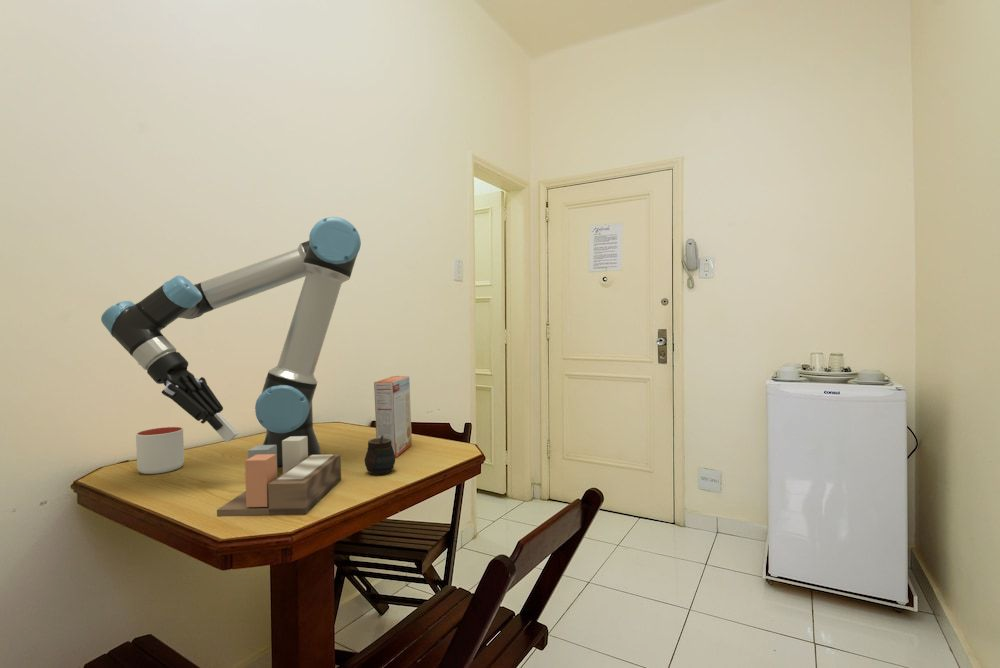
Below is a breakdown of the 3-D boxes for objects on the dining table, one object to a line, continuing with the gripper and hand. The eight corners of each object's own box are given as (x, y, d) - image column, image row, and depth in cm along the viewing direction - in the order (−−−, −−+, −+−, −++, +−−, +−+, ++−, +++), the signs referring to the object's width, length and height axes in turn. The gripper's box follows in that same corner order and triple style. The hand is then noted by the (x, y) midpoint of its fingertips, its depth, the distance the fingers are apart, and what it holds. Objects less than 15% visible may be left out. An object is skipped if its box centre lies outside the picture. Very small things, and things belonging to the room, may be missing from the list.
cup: (192, 463, 133) (191, 426, 133) (169, 475, 124) (167, 434, 123) (154, 464, 133) (152, 427, 133) (127, 476, 123) (126, 435, 123)
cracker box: (393, 445, 149) (391, 375, 149) (412, 445, 149) (410, 375, 148) (375, 458, 135) (373, 381, 135) (396, 458, 135) (394, 381, 134)
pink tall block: (257, 499, 100) (256, 454, 100) (277, 498, 100) (276, 454, 100) (246, 507, 96) (245, 460, 96) (267, 506, 96) (265, 460, 96)
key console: (268, 481, 117) (267, 454, 117) (341, 480, 117) (340, 452, 116) (217, 515, 96) (215, 482, 96) (305, 514, 96) (304, 481, 95)
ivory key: (291, 474, 116) (290, 436, 116) (308, 474, 116) (307, 436, 116) (283, 480, 112) (281, 440, 112) (300, 480, 112) (299, 440, 112)
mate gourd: (389, 466, 127) (388, 427, 127) (400, 473, 121) (400, 432, 121) (361, 471, 123) (360, 431, 123) (371, 479, 117) (371, 436, 117)
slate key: (259, 486, 108) (258, 445, 108) (277, 486, 108) (276, 444, 108) (249, 493, 104) (247, 450, 104) (268, 492, 104) (267, 449, 104)
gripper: (168, 368, 120) (235, 441, 121) (128, 375, 107) (204, 456, 108) (191, 348, 120) (258, 421, 121) (154, 352, 107) (229, 434, 108)
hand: (232, 437), depth 114 cm, fingers closed
